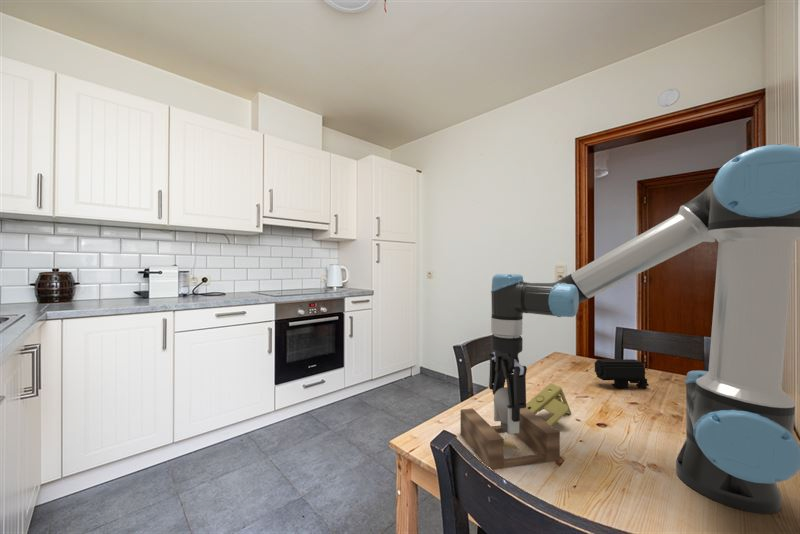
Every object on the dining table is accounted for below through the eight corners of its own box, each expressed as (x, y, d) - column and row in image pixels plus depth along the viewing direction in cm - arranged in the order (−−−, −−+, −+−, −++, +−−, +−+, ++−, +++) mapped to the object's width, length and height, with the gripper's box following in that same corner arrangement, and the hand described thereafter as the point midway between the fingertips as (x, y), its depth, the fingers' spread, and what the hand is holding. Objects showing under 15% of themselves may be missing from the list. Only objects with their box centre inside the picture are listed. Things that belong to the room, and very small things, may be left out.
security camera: (653, 390, 119) (653, 363, 119) (603, 389, 119) (603, 363, 119) (639, 383, 126) (639, 358, 126) (592, 383, 126) (592, 358, 126)
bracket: (590, 423, 93) (580, 396, 91) (556, 455, 88) (544, 427, 86) (560, 407, 103) (550, 382, 100) (529, 435, 98) (517, 409, 96)
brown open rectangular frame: (559, 461, 75) (559, 431, 75) (489, 472, 71) (489, 440, 71) (519, 428, 90) (519, 403, 90) (460, 435, 86) (460, 409, 86)
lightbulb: (515, 440, 76) (516, 395, 76) (490, 433, 80) (491, 389, 79) (521, 429, 82) (521, 386, 81) (497, 423, 85) (497, 382, 85)
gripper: (544, 342, 72) (543, 445, 72) (500, 327, 91) (500, 408, 91) (514, 344, 71) (513, 448, 71) (476, 328, 89) (475, 411, 89)
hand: (506, 426), depth 81 cm, fingers closed on lightbulb, 6 cm apart
